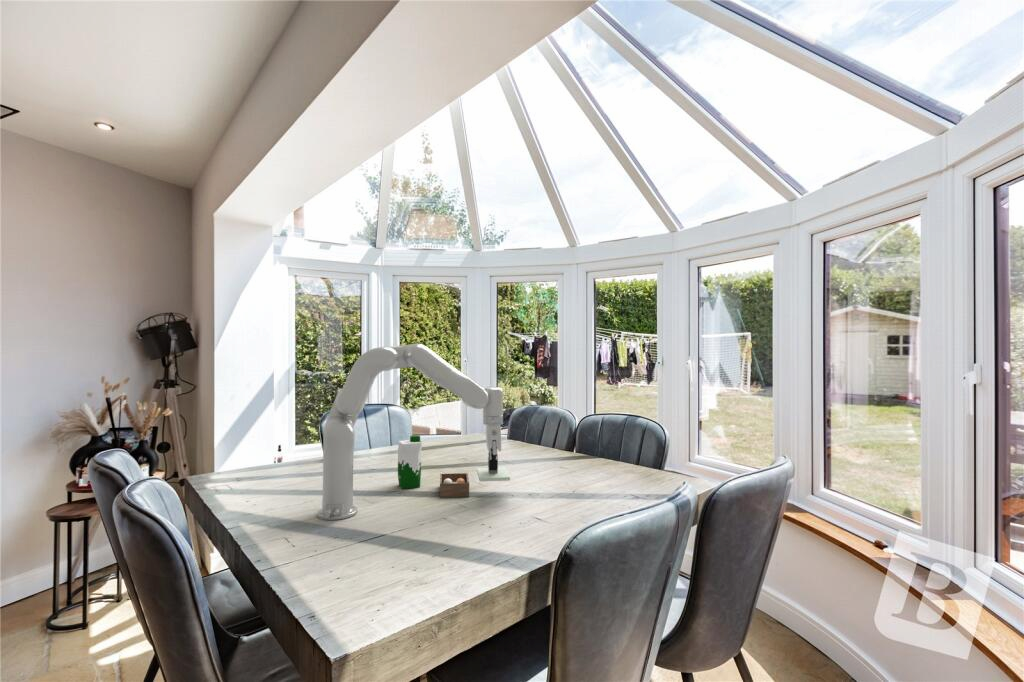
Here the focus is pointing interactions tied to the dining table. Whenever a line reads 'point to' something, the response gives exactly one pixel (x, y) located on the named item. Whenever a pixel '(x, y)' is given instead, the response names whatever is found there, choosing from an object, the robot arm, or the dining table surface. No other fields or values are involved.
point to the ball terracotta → (460, 480)
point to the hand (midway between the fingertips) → (492, 468)
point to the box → (454, 485)
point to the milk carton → (409, 462)
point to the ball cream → (447, 481)
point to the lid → (493, 473)
